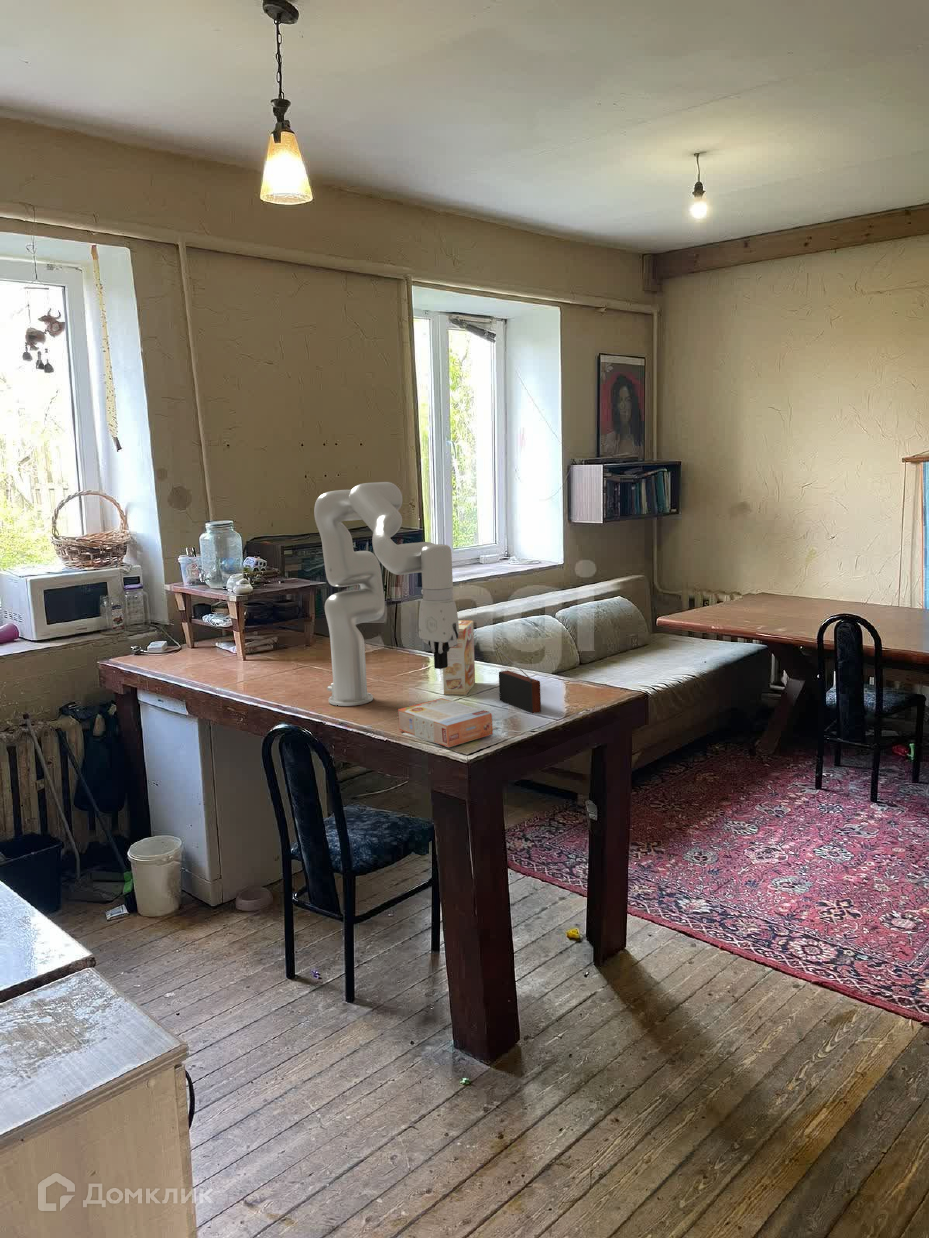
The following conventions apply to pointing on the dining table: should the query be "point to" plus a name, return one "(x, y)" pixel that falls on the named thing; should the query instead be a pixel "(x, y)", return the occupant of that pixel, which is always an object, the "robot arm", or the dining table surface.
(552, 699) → the dining table surface
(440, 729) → the cracker box
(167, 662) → the dining table surface
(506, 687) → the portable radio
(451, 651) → the coffeecake box
